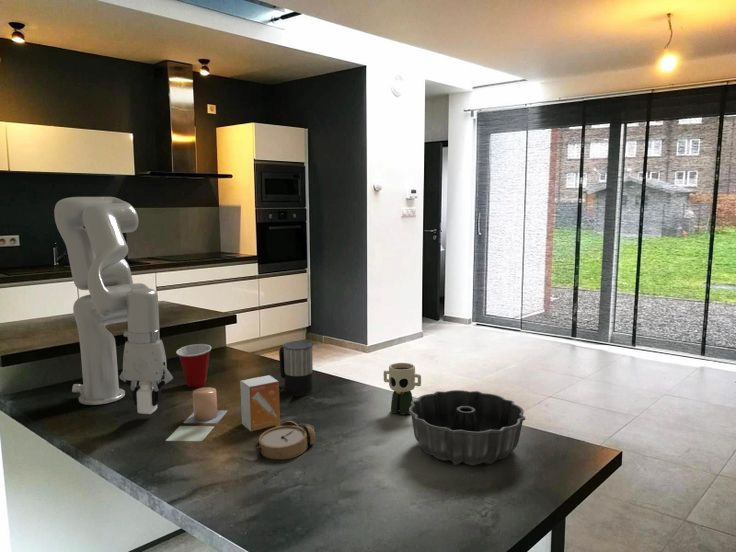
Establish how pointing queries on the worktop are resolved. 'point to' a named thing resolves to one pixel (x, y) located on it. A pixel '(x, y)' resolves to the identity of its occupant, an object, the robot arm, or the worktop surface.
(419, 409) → the bundt pan
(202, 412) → the peach rounded cylinder
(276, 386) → the small box
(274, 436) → the alarm clock
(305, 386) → the milk frother
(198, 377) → the plastic cup
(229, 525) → the worktop surface
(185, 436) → the board
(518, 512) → the worktop surface
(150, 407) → the salt shaker
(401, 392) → the character mug
